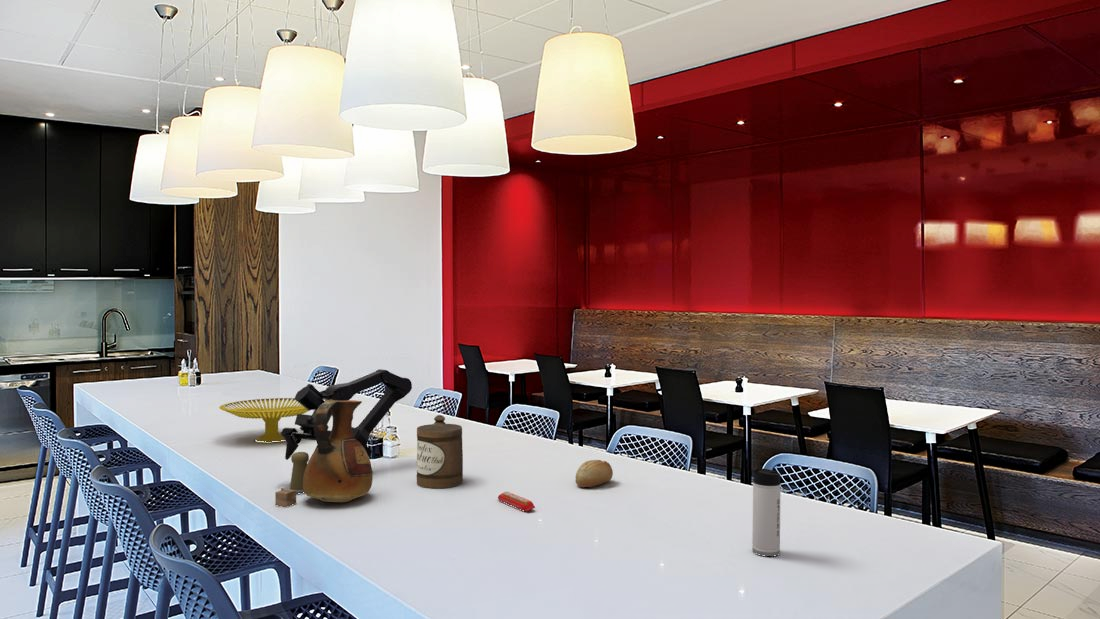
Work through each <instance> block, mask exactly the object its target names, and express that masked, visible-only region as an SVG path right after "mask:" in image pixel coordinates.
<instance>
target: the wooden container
mask: <svg viewBox="0 0 1100 619" xmlns="http://www.w3.org/2000/svg"><path fill="white" fill-rule="evenodd" d="M433 420H434V422H433V423H431V424H423V425H420V426H417V427H416V439H417V440H416V485H417V486H419V487H421V488H425V487H426V489H447V488H446V487H450V488H454V487H453V486H455V487H457V485H458V486H460V485H462V484H463V482H464V472H463V470H464V462H463V461H464V457H463V455H464V454H463V426H462V425H460V424H455V423H446V422H445V420H446V418H445V416H444V415H443V414H442V415H441V414H437V415H436V416H435V417H434V418H433ZM461 483H462V484H461ZM459 484H460V485H459Z"/></svg>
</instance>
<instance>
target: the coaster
mask: <svg viewBox="0 0 1100 619" xmlns="http://www.w3.org/2000/svg"><path fill="white" fill-rule="evenodd" d="M284 489H290V485H289V486H285V487H280V491H281V490H284ZM290 490H291V489H290ZM303 492H304V490H296V494H298V493H303ZM303 494H304V493H303ZM298 495H299V494H298Z"/></svg>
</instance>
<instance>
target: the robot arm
mask: <svg viewBox="0 0 1100 619" xmlns="http://www.w3.org/2000/svg"><path fill="white" fill-rule="evenodd" d="M380 384H383V386H385V388H384V394H383V395H382V396H381V398H380V399H379V400H378V401H377V403H376V404H375V405H374V406H373V408H372V409H371V410H370V411H369V412H368V414H366V416H365V417H364V418H363V420H362V421H361V422H360V423H359V424H358V426H356V427H353V426H352V432H353V435H354V438H355V439H356V440H357V441H359V442H360V443H361V445H362V446H363V447H364V449H365V450H366V452H367V454H368V456H369V458H370V457H371V456H372V452H373V451H372V449H371V448H370V447H369V446H368V443H369V440H370V435H371V433H372V432H373V431H374V429H376V427H377V426H378V424H380V423H381V421H382V420H383V419H384V418H385V416H386V415H387V413H388V412H389V411H390V410H391V408H392V407H393V406H394V404H395V403H397V402H398V401H400V400H402V399H403V398H405V397H406V396H407V395H408V394H409V393H410V392H411V391H412V390H413V389H412V388H413V384H412V381H411V379H410V378H408V377H402V376H399V375H397V374H394V373H392V372H390V371H389V370H387V369H377V370H375V371H373V372H371V373H369V374H366V375H364V376H362V377H359V378H357V379H354V380H352V381H351V380H350V381H349V382H345V383H336V384H332V385H329V386H328V387H327V386H326V388H325V390H321V391H319V390H318V389H317V388H316V387H315V386H314V385H313V384H311V383H307V385H306V386H304V387H303V388H301V389H300V390H298V391H297V392H296V394H295V396H294V398H295V400H294V401H297V402H296V403H298V402H299V404H301V405H302V406H303V407H305V408H306V409H307V410H308V412H310V411H313V412H312V414H305V413H304V414H297V416H295V420H294V425H295V426H296V425H297V426H298V427H299V429H300V431H302V432H299V431H298V430H297V428H296V427H284V428H283V429H282V431H281V433H280V434H281V435H282V437H283V438H284V439H285V440H286V441H285V442H286V448H285V457H284V459H285V460H289V459H290V458H291V457H292V455H293V454H294V453H295V451H296V450H297V449H298V447H299V446H300V445H299V444H300V443H301V442H302V440H307V441H316V437H315V432H314V415H315V412H316V410H317V409H318V407H319V406H320V405H321V404H323V403H324V402H325V400H330V399H332V400H333V399H334V400H338V401H348V400H351V399H352V398H353V397H354V396H355V395H356V394H359V393H360V392H363V391H366V390H368V389H370V388H372V387H374V386H376V385H380ZM301 405H300V406H301ZM332 417H333V416H332V411H331V409H330V411H329V415H328V420H327V429H328V437H329V436H330V434H331V431H332V430H330V429H329V428H330V427H329V425H328V423H329V422H330V420H331V418H332ZM316 442H317V441H316ZM317 447H318V445H317V444H316V447H315V449H314V451H315V450H316V449H317Z"/></svg>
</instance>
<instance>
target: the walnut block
mask: <svg viewBox="0 0 1100 619" xmlns="http://www.w3.org/2000/svg"><path fill="white" fill-rule="evenodd" d="M274 493H275V496H274V497H275V498H274V500H275V501H274V502H275V505H278V506H277V507H280V506H283V507H282V508H288V507H287V506H289V507H291V506H290V505H292V504H294V505H296V504H297V495H296V490H290V489H284V490H281V489H280V490H278V491H275V492H274ZM295 503H296V504H295ZM292 506H293V505H292Z"/></svg>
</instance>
